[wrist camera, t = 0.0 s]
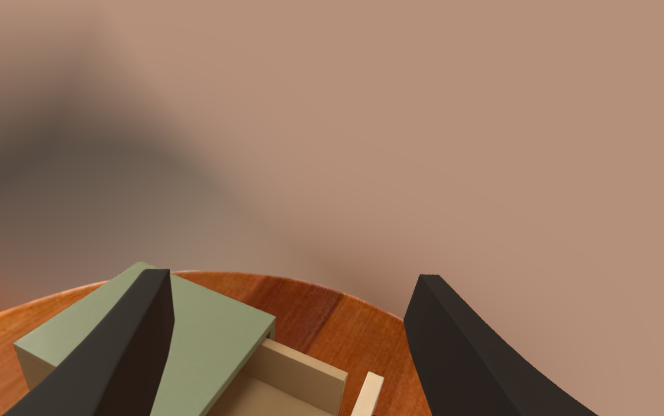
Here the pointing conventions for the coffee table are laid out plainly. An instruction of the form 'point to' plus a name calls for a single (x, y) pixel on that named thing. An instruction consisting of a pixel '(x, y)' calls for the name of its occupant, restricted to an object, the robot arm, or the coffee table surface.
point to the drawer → (291, 386)
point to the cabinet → (185, 350)
